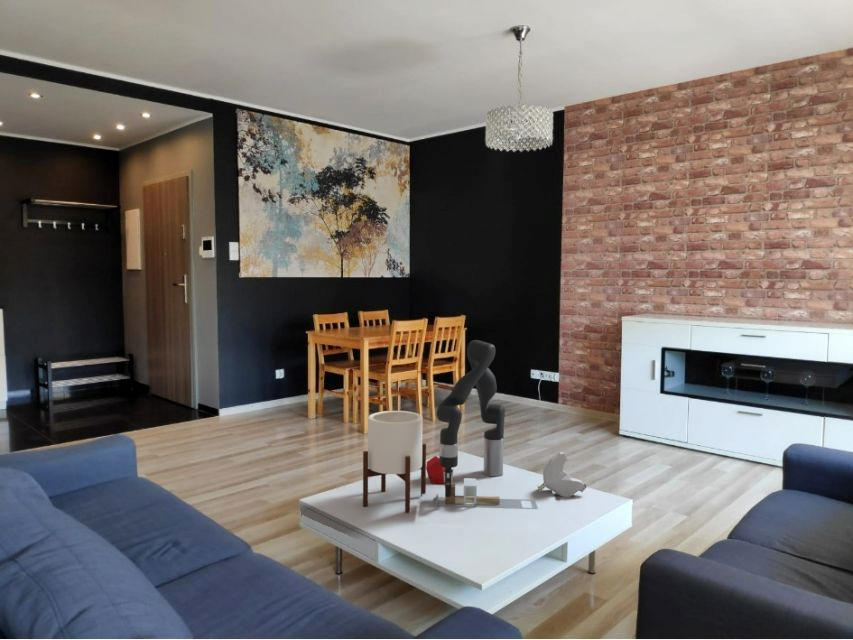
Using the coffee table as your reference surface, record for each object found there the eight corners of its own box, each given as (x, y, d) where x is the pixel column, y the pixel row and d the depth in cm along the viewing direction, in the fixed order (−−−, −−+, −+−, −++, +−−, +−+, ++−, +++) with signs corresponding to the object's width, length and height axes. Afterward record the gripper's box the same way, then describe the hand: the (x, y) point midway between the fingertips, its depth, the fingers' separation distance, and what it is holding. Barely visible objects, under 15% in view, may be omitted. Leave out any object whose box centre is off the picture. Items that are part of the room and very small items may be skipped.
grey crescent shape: (543, 506, 255) (589, 493, 254) (531, 464, 254) (576, 450, 253) (541, 500, 262) (585, 487, 261) (528, 459, 261) (573, 446, 260)
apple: (427, 490, 267) (418, 469, 280) (452, 489, 271) (443, 469, 284) (431, 468, 263) (423, 448, 276) (457, 468, 267) (447, 448, 280)
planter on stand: (381, 489, 263) (381, 408, 261) (429, 495, 256) (429, 413, 253) (358, 507, 242) (358, 420, 240) (410, 514, 235) (411, 425, 232)
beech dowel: (455, 501, 245) (455, 495, 245) (499, 502, 245) (499, 496, 244) (455, 503, 243) (455, 497, 243) (499, 504, 242) (499, 498, 242)
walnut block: (445, 500, 247) (445, 483, 246) (455, 500, 247) (455, 483, 246) (445, 503, 243) (445, 486, 242) (455, 503, 243) (455, 487, 242)
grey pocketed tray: (435, 500, 250) (436, 477, 249) (534, 503, 248) (535, 479, 247) (435, 509, 240) (435, 485, 239) (538, 512, 238) (538, 488, 237)
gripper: (457, 459, 236) (457, 499, 237) (457, 449, 250) (457, 487, 251) (438, 458, 236) (438, 499, 237) (439, 448, 251) (439, 487, 252)
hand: (448, 493), depth 244 cm, fingers open, 8 cm apart
